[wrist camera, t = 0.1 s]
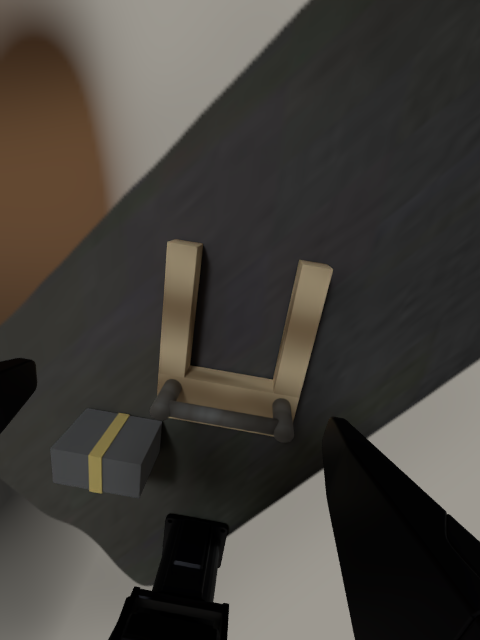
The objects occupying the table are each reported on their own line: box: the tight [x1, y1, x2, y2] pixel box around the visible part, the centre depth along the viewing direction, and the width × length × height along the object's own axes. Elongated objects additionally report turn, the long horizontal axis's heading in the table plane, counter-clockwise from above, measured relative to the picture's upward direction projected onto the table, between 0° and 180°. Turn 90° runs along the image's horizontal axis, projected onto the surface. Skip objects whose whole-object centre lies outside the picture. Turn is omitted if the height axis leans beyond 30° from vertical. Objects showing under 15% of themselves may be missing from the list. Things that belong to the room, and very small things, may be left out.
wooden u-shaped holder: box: [150, 239, 333, 443], centre depth 21 cm, size 14×11×5 cm
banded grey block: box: [50, 408, 162, 498], centre depth 25 cm, size 4×7×5 cm, turn 81°
